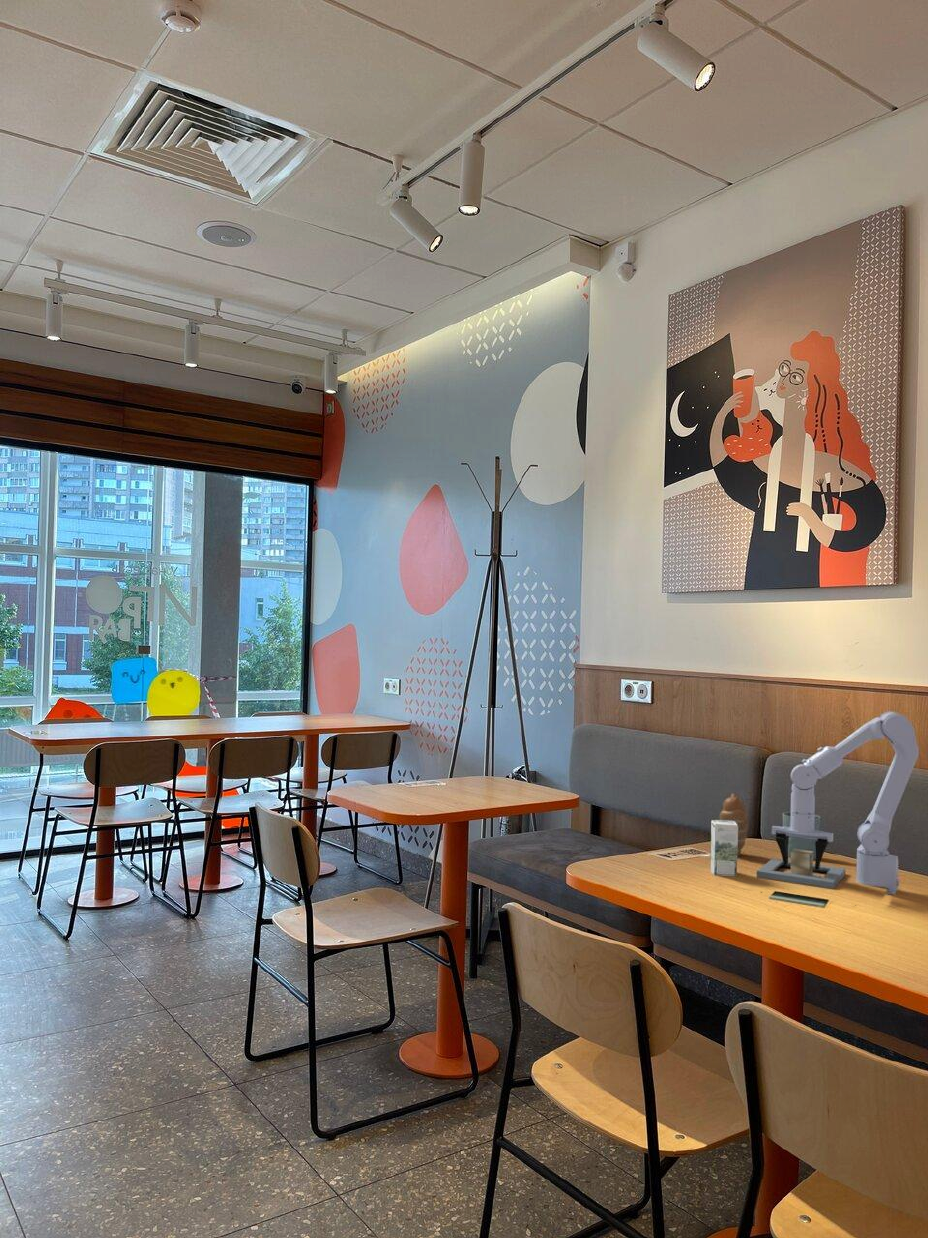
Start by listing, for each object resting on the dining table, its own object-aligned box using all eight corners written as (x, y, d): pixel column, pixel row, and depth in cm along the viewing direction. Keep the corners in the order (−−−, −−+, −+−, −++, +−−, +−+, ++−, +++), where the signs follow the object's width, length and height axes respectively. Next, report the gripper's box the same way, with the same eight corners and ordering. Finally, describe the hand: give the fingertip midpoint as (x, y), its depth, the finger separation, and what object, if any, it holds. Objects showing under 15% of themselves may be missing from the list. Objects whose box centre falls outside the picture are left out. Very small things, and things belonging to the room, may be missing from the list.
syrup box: (732, 876, 233) (733, 820, 233) (737, 882, 227) (738, 824, 227) (709, 875, 233) (711, 819, 234) (713, 881, 227) (715, 823, 228)
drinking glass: (775, 853, 262) (775, 811, 263) (807, 853, 264) (807, 811, 265) (793, 861, 253) (794, 818, 253) (827, 861, 254) (827, 818, 255)
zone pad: (830, 897, 215) (830, 896, 215) (823, 907, 206) (823, 905, 206) (778, 889, 221) (778, 888, 221) (769, 898, 213) (769, 896, 213)
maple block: (812, 875, 231) (812, 851, 231) (809, 878, 227) (809, 854, 227) (794, 872, 233) (794, 849, 233) (790, 876, 229) (790, 852, 229)
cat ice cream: (751, 863, 248) (752, 797, 249) (722, 862, 248) (723, 796, 249) (742, 856, 257) (743, 792, 258) (714, 855, 257) (715, 791, 258)
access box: (845, 880, 233) (845, 868, 233) (833, 895, 217) (833, 882, 217) (772, 869, 242) (773, 858, 242) (756, 883, 227) (756, 871, 227)
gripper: (835, 814, 230) (834, 868, 230) (776, 807, 238) (775, 859, 237) (830, 817, 224) (829, 873, 223) (770, 810, 232) (769, 864, 231)
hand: (801, 866), depth 230 cm, fingers open, 7 cm apart
